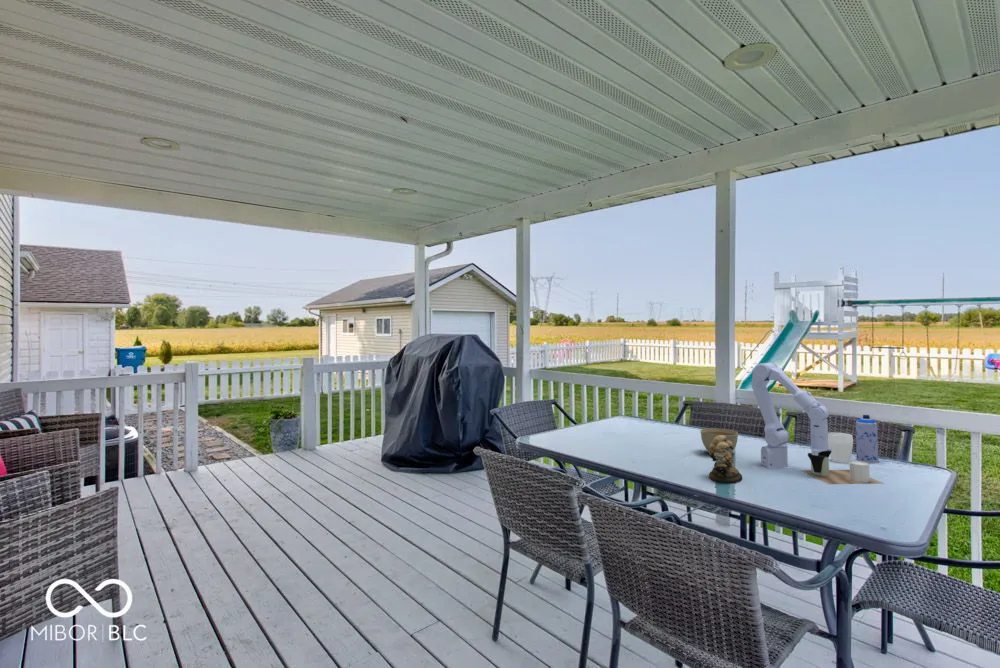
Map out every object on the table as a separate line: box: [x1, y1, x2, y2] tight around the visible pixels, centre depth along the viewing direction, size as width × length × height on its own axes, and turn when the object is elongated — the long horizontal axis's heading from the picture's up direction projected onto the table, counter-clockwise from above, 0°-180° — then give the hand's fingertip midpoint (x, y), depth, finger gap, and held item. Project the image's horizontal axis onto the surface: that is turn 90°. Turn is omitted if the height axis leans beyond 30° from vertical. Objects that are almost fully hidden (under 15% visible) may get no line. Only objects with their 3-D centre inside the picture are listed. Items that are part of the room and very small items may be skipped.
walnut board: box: [800, 469, 885, 485], centre depth 184 cm, size 20×18×1 cm
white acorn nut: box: [849, 460, 871, 483], centre depth 179 cm, size 6×6×7 cm
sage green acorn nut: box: [810, 456, 830, 476], centre depth 189 cm, size 6×6×7 cm
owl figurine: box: [708, 435, 743, 485], centre depth 188 cm, size 18×12×17 cm, turn 150°
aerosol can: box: [855, 414, 880, 464], centre depth 206 cm, size 8×8×20 cm
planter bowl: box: [699, 427, 739, 455], centre depth 223 cm, size 16×16×11 cm
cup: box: [828, 431, 854, 465], centre depth 206 cm, size 9×9×12 cm
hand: (820, 470), depth 189 cm, fingers open, 7 cm apart
